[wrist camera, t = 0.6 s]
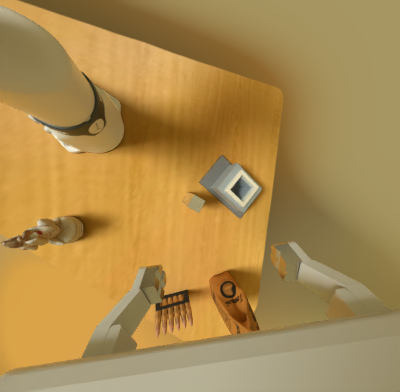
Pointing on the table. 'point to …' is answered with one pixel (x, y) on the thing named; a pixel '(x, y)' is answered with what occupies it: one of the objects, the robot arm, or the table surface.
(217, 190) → the block
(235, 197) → the frame
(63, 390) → the robot arm
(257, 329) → the coffee package
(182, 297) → the ammunition clip
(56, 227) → the figurine
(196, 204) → the shaft
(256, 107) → the table surface
